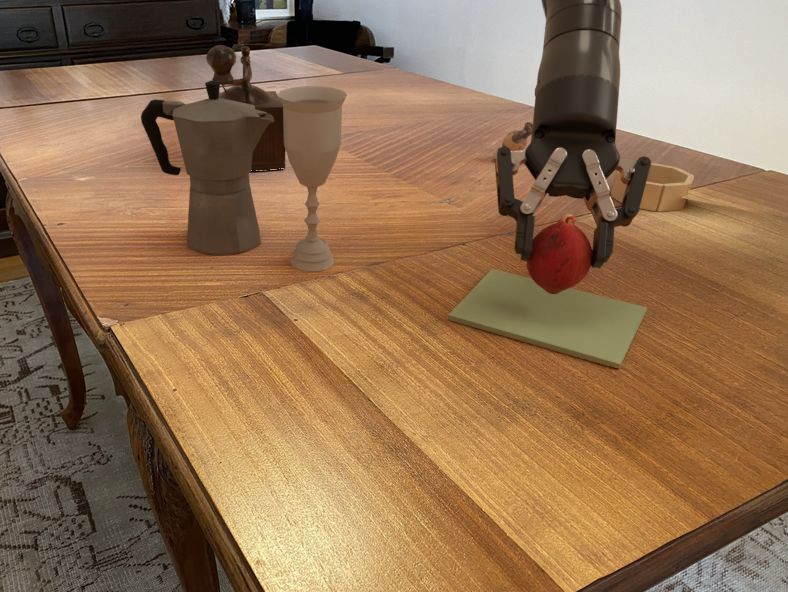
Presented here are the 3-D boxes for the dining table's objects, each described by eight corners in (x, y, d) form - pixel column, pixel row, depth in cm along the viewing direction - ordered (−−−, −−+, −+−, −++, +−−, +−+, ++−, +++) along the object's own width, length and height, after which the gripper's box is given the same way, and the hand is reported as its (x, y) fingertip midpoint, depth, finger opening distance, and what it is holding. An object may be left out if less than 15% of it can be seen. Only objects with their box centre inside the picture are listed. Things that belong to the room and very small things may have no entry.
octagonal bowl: (690, 195, 98) (697, 170, 96) (679, 216, 91) (687, 190, 89) (620, 182, 102) (626, 158, 100) (605, 202, 95) (611, 176, 93)
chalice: (284, 247, 82) (281, 85, 72) (343, 248, 82) (347, 86, 72) (278, 275, 76) (274, 102, 66) (342, 276, 76) (346, 104, 66)
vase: (536, 159, 111) (543, 121, 108) (524, 168, 107) (531, 128, 104) (504, 153, 113) (509, 115, 110) (491, 162, 110) (496, 123, 106)
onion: (556, 314, 64) (573, 232, 60) (507, 290, 68) (520, 212, 64) (595, 296, 67) (614, 217, 63) (546, 274, 71) (561, 198, 67)
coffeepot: (289, 231, 86) (286, 75, 76) (263, 263, 78) (256, 95, 69) (173, 217, 89) (156, 67, 80) (137, 247, 82) (114, 84, 72)
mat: (646, 312, 70) (647, 307, 69) (618, 369, 61) (620, 364, 61) (491, 273, 77) (492, 268, 76) (447, 319, 68) (447, 314, 68)
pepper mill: (209, 153, 112) (199, 30, 103) (278, 149, 114) (275, 29, 104) (215, 185, 99) (205, 48, 90) (292, 181, 101) (291, 46, 92)
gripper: (503, 67, 65) (484, 239, 61) (669, 75, 62) (659, 254, 59) (495, 111, 72) (477, 267, 69) (643, 121, 70) (633, 283, 66)
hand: (561, 260), depth 64 cm, fingers closed on onion, 5 cm apart
